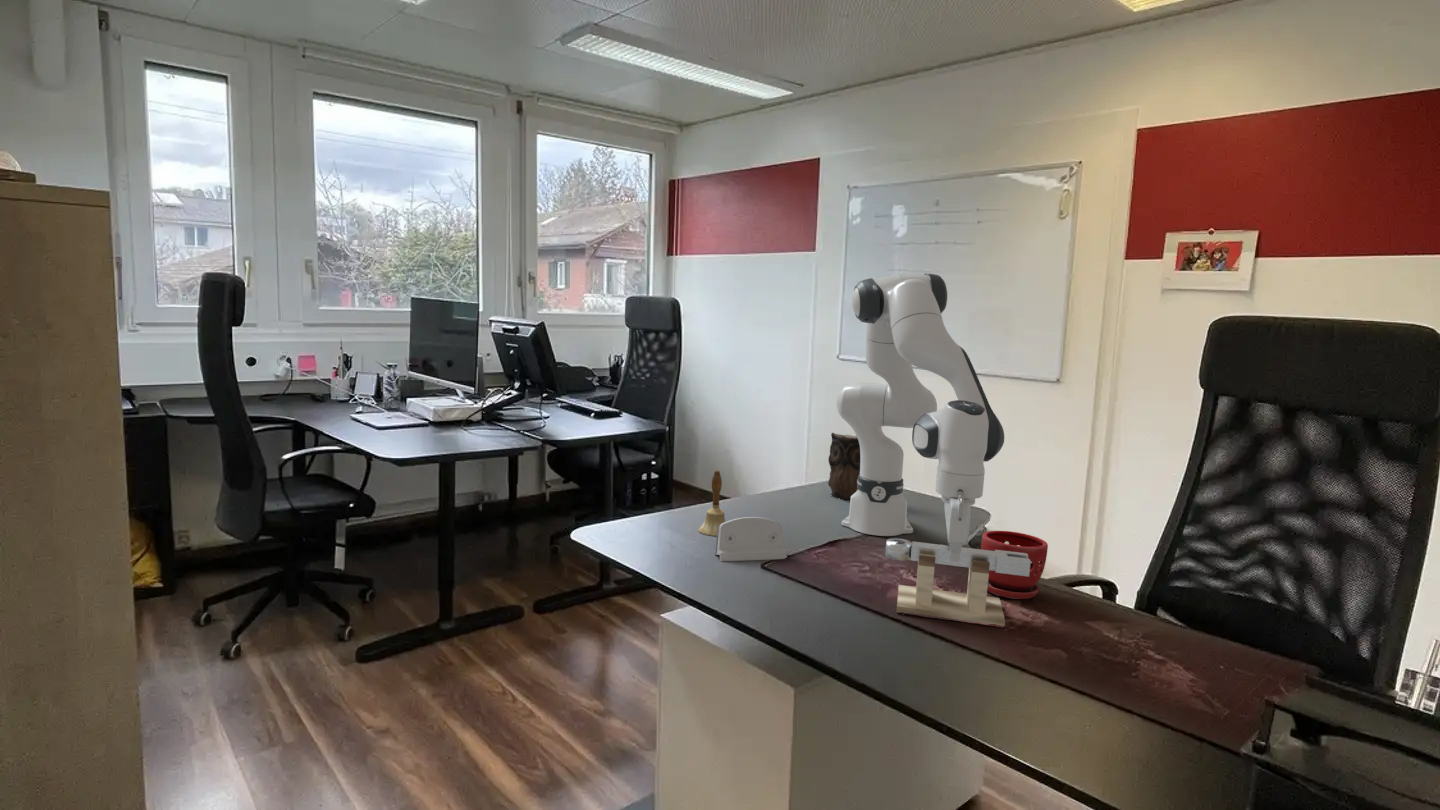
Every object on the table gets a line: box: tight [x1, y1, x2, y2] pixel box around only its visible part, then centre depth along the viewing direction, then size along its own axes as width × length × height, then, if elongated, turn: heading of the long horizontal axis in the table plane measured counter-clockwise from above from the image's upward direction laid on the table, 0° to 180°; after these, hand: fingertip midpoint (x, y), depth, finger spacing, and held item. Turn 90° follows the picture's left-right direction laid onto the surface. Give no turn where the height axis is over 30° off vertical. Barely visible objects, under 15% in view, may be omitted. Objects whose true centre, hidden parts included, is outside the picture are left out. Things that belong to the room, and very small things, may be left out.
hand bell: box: [697, 470, 726, 537], centre depth 198 cm, size 8×8×16 cm
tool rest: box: [896, 554, 1006, 626], centre depth 153 cm, size 12×20×12 cm, turn 75°
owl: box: [828, 432, 860, 501], centre depth 238 cm, size 13×13×20 cm
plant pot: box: [980, 530, 1049, 600], centre depth 165 cm, size 13×13×12 cm
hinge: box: [714, 516, 788, 562], centre depth 181 cm, size 17×5×10 cm, turn 103°
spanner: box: [884, 537, 1031, 577], centre depth 153 cm, size 27×5×3 cm, turn 75°
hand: (953, 553), depth 153 cm, fingers open, 8 cm apart
